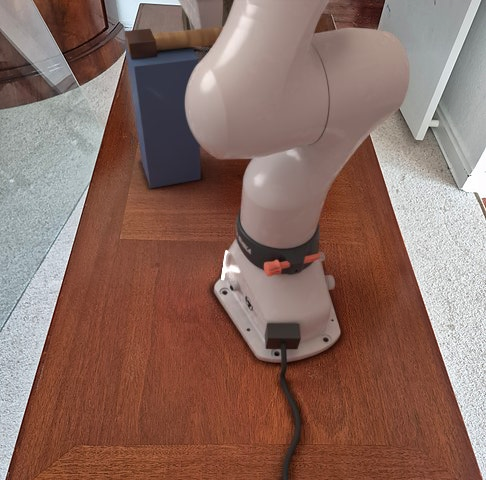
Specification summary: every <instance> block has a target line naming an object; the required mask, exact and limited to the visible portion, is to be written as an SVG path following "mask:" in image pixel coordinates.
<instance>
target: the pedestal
mask: <svg viewBox="0 0 486 480" xmlns="http://www.w3.org/2000/svg"><path fill="white" fill-rule="evenodd" d="M123 43H124V49H125V56H126V62H127V69H128V77H129V85H130V91H131V97H132V104H133V111H134V117H135V125H136V132H137V138H138V146H139V152H140V159H141V164H142V167H143V170H144V174H145V177H146V180H147V182H148V185H149V189H154V188H161V187H166V186H172V185H177V184H183V183H187V182H189V183H190V182H194V181H200V180H201V178H202V177H201V176H202V175H201V146H200V144H199V143H198V142H197V140H196V139H195V137H194V136H193V134H192V132H191V130H190V128H189V125H188V122H187V118H186V112H185V93H186V88H187V84H188V81H189V78H190V76H191V74H192V72H193V70H194V68H195V67H196V65H197V64H198V63H199V58H198V56H197V54H196V52H195V51H194V49H193V48H192V47H190V48H180V49H171V50H162V51H157V57H148V58H139V59H131V57H130V54H129V52H128V49H127V47H126V40H124V42H123Z"/></svg>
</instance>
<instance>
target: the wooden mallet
mask: <svg viewBox="0 0 486 480" xmlns="http://www.w3.org/2000/svg"><path fill="white" fill-rule="evenodd" d="M222 29H223V27H216V28H206V29H195V30H185V31H184V30H177V31H166V32H156V33H155V32H154V33H153V32H152V30H151V28H142V29H141V28H140V29H131V30H124V31H123V32H124V38H125V40H124V41H126V47H127V49H128V52H129V54H130V57H131V59H139V58H148V57H157V51H162V50H171V49H180V48H190V47H195V48H196V47H198V48H200V47H199V46H209V45H214V44H215V42H216V40H217V39H218V37H219V35H220V34H221V32H222Z"/></svg>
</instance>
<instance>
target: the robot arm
mask: <svg viewBox="0 0 486 480" xmlns="http://www.w3.org/2000/svg"><path fill="white" fill-rule="evenodd" d="M177 1H178V2H179V4H180V6H181V9H182V8H183V10H184V11H185V13H186V15H187V17H188V18H189V23H190V28H191V30H195V29H206V28H216V27H222V17H223V0H177ZM330 1H331V0H234V2H233V5H232V8H231V11H230V13H229V16H228V18H227V21H226V23H225V25H224V27H223V29H222V32H221V34H220V35H219V37H218V39H217V40H216V42H215V44H214V45H213V46H212V48H209V51H208V52H207V53H206V54H205V55H204V57H203V58H202V59H201V60H200V61H198V64H197V65H196V67H195V68H194V70H193V72H192V74H191V76H190V78H189V81H188V84H187V88H186V93H185V112H186V118H187V122H188V125H189V128H190V130H191V132H192V134H193V136H194V137H195V139H196V140H197V142H198V143H199V144H200V148H202V149H203V150H204V151H205V152H206V153H208V155H210V156H212V157H213V158H215V159H217V160H248V159H249V160H250V159H251V160H250V162H249V163H248V165H247V167H246V169H245V171H244V173H243V178H242V189H241V201H240V208H239V209H238V212H237V215H236V216H237V217H236V219H235V220H236V221H235V239H234V240H233V242H232V243H231V245H230V247H229V248H228V250H225V252H224V258H223V264H222V265H223V267H222V272H221V277H220V278H219V279H218V280H217V281H216V282H215V284H214V286H213V293H214V295H215V296H216V298H217V300H218V301H219V302H220V304H221V305H222V307H223V309H224V310H225V311H226V313H227V315H228V316H229V318H230V320H231V321H232V322H233V324H234V326H235V327H236V329H237V330H238V331H239V333H240V334H241V336H242V338H243V339H244V341H245V342H246V344H247V346H248V347H249V348H250V350H251V352H252V353H253V355H254V357H256V358H257V359H258V360H260V361H262V362H267V363H273V364H274V363H280V364H281V365H280V366H281V368H280V372H279V381H280V384H281V388H282V391H283V392H284V395H285V397H286V399H287V401H288V404H289V406H290V408H291V410H292V414H293V417H294V425H295V430H294V434H293V437H292V440H291V442H290V445H289V447H288V449H287V452H286V453H285V455H284V456H285V457H284V459H283V464H282V470H281V478H282V479H281V480H289V467H290V462H291V459H292V457H293V454H294V452H295V450H296V448H297V446H298V443H299V440H300V436H301V432H302V431H301V430H302V421H301V420H302V419H301V416H300V411H299V409H298V407H297V404H296V401H295V400H294V398H293V396H292V393H291V392H290V389H289V387H288V383H287V379H286V373H287V371H288V369H287V368H288V363H289V362H297V361H300V360H305V359H307V358H310V357H313V356H316V355H318V354H320V353H322V352H325V351H326V350H328V349H330V348H331V347H333V345H334V344H335V343H336V342H337V341H338V340H339V339H340V337H341V328H340V325H339V321H338V318H337V314H336V311H335V308H334V304H333V301H332V298H331V295H330V291H331V290H334V289H335V286H336V281H335V277H334V275H332V274H327V275H325V270H324V266H323V261H325V259H326V257H325V256H326V255H325V252H324V251H320V239H321V230H320V218H321V215H322V211H323V208H324V205H325V202H326V199H327V195H328V193H329V191H330V189H331V187H332V185H333V184H334V182H335V180H336V178H337V177H338V176H339V174H340V172H341V171H342V169H343V168H344V167H345V165H346V164H347V163H348V161H349V160H350V158H351V157H352V156H353V155H354V153H355V152H356V151H357V150H358V148H359V147H360V146H361V145H362V144H363V142H365V140H366V139H367V138H368V137H369V136H370V135H371V134H372V133H373V132H374V131H375V130H376V129H377V128H378V127H380V126H381V125H382V124H383V123H384V122H386V120H388V119H390V118H391V117H392V116H393V115H395V114H396V113H397V112H398V111H399V109H400V108H401V107H402V105H403V103H404V102H405V99H406V96H407V93H408V90H409V84H410V76H411V75H410V74H411V73H410V70H411V69H410V62H409V58H408V55H407V52H406V50H405V48H404V46H403V44H402V43H401V41H400V39H398V37H397V36H396V35H394V34H393V33H391V32H389V31H388V30H382V29H375V28H363V27H361V28H360V27H344V28H338V29H334V30H333V29H332V30H327V31H321V32H315V31H316V29H317V25H318V23H319V21H320V19H321V17H322V14H323V12H324V11H325V9H326V7H327V5H328V4H329V2H330ZM275 354H277V355H275Z"/></svg>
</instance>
